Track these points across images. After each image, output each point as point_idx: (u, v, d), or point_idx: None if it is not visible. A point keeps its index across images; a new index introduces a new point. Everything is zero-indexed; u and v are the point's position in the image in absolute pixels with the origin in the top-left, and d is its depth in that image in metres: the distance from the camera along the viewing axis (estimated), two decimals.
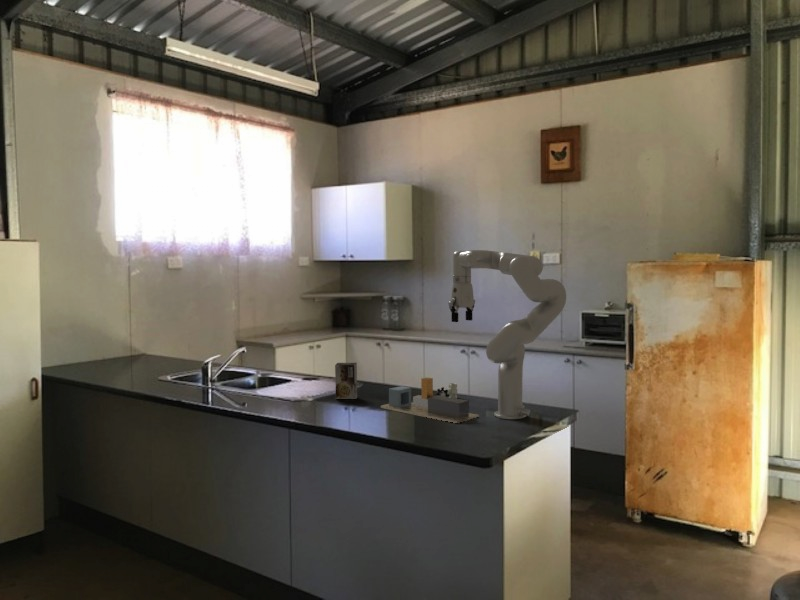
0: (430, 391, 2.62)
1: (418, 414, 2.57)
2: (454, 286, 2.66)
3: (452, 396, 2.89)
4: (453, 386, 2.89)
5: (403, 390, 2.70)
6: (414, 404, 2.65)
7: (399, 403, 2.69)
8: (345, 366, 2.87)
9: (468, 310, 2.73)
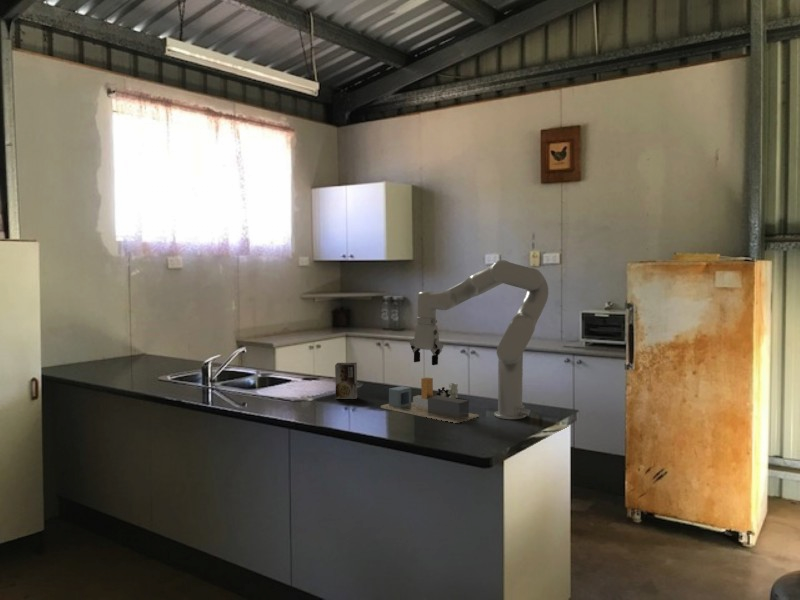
0: (430, 391, 2.62)
1: (418, 414, 2.57)
2: (434, 328, 2.58)
3: (452, 396, 2.89)
4: (453, 386, 2.89)
5: (403, 390, 2.70)
6: (414, 404, 2.65)
7: (399, 403, 2.69)
8: (345, 366, 2.87)
9: (417, 351, 2.65)
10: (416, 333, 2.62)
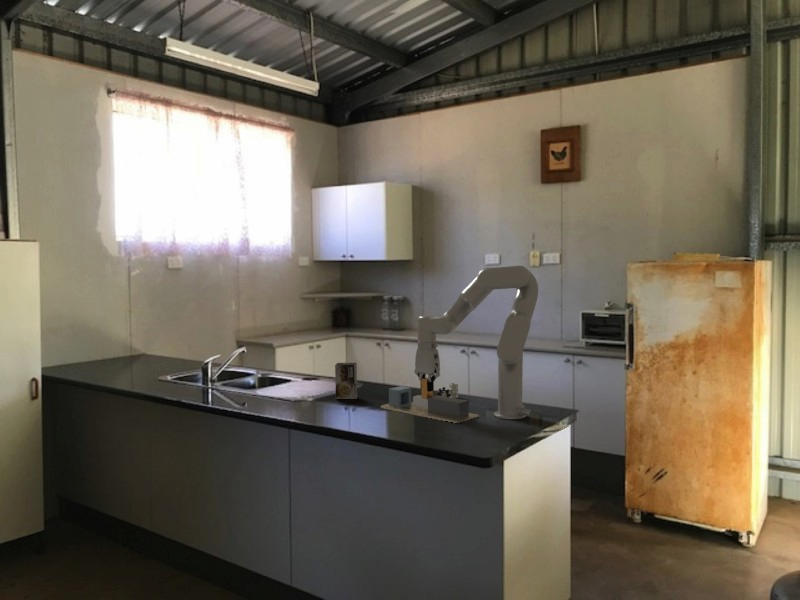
0: (430, 391, 2.62)
1: (418, 414, 2.57)
2: (434, 352, 2.58)
3: (453, 396, 2.89)
4: (454, 386, 2.89)
5: (403, 390, 2.70)
6: (414, 404, 2.65)
7: (399, 403, 2.69)
8: (345, 366, 2.87)
9: None
10: (417, 357, 2.62)
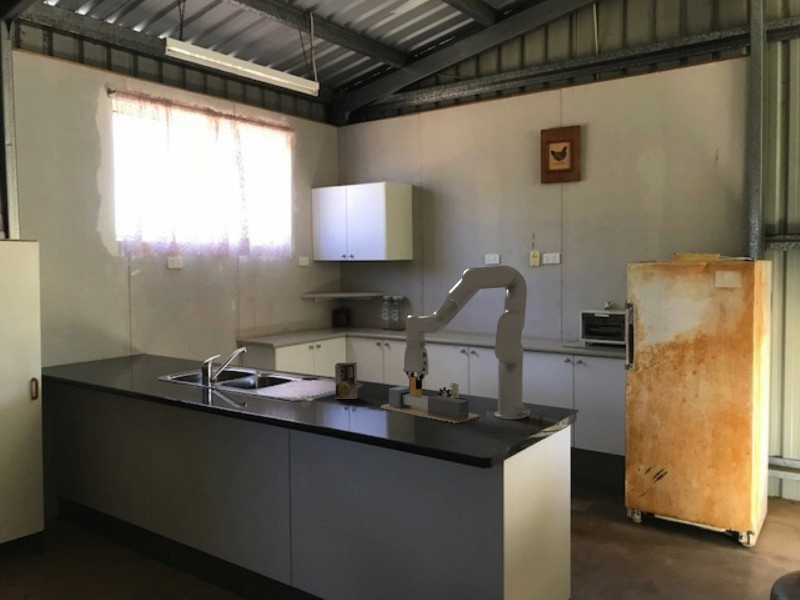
0: (419, 389, 2.66)
1: (418, 414, 2.57)
2: (423, 351, 2.62)
3: (453, 396, 2.89)
4: (454, 386, 2.89)
5: (403, 390, 2.70)
6: (403, 402, 2.69)
7: (399, 403, 2.69)
8: (345, 366, 2.87)
9: None
10: (406, 356, 2.67)
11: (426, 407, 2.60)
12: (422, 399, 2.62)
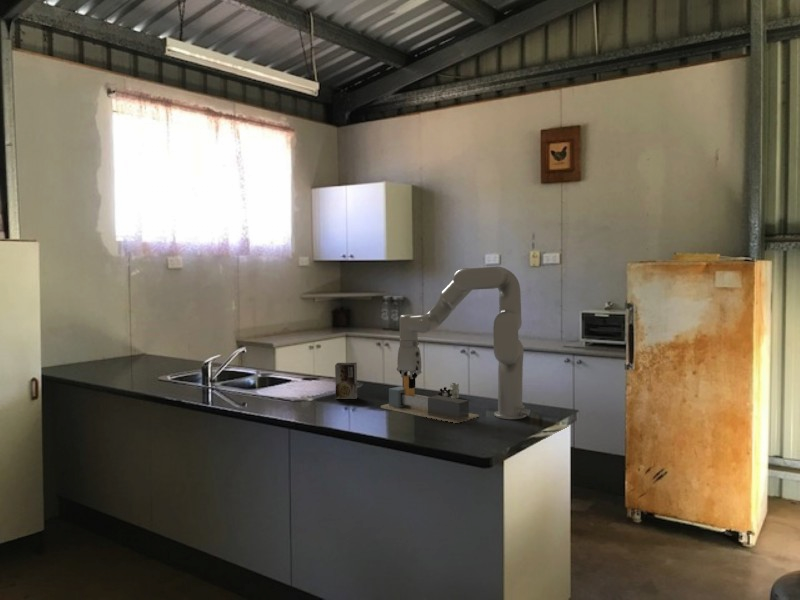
0: (412, 388, 2.69)
1: (418, 414, 2.57)
2: (415, 350, 2.65)
3: (454, 396, 2.89)
4: (455, 386, 2.89)
5: (403, 390, 2.70)
6: None
7: (399, 403, 2.69)
8: (345, 366, 2.87)
9: None
10: (399, 355, 2.69)
11: (419, 406, 2.63)
12: (415, 398, 2.64)
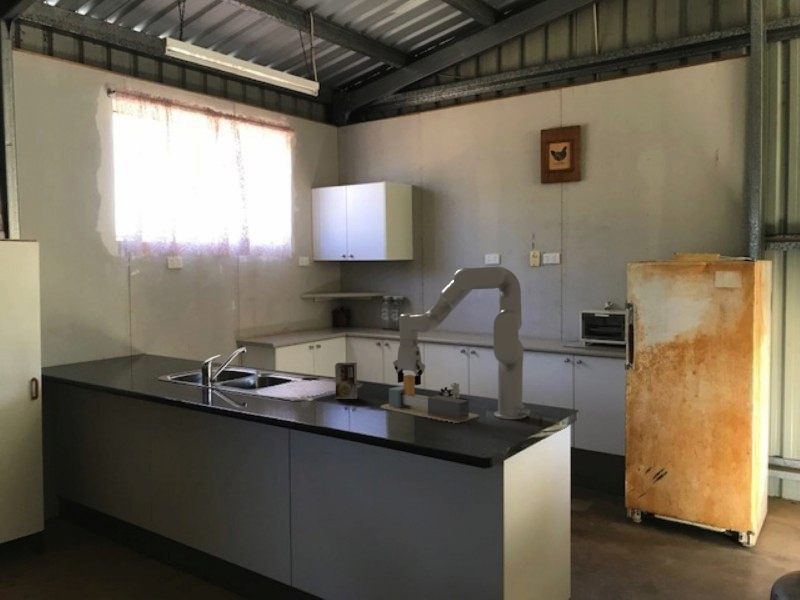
0: (412, 388, 2.69)
1: (418, 414, 2.57)
2: (415, 349, 2.65)
3: (454, 396, 2.90)
4: (455, 386, 2.89)
5: (403, 390, 2.70)
6: None
7: (399, 403, 2.69)
8: (345, 366, 2.87)
9: (400, 372, 2.72)
10: (399, 354, 2.69)
11: (419, 406, 2.63)
12: (415, 398, 2.64)
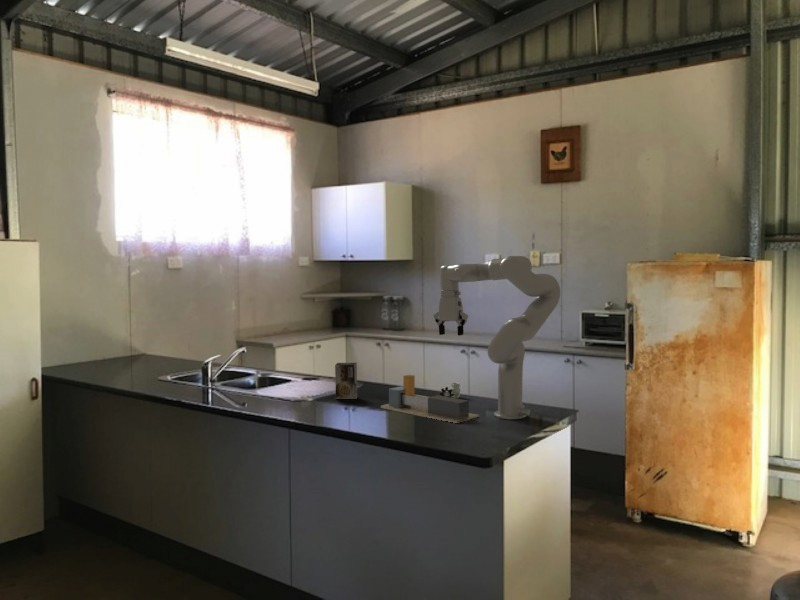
0: (412, 388, 2.69)
1: (418, 414, 2.57)
2: (458, 300, 2.67)
3: (455, 396, 2.90)
4: (456, 386, 2.90)
5: (403, 390, 2.70)
6: None
7: (399, 403, 2.69)
8: (345, 366, 2.87)
9: (442, 324, 2.74)
10: (440, 306, 2.71)
11: (419, 406, 2.63)
12: (415, 398, 2.64)
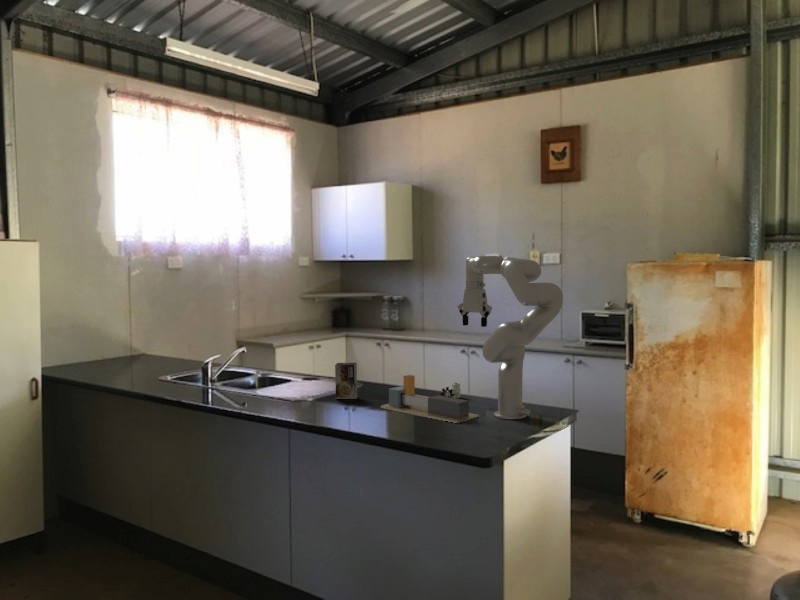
0: (412, 388, 2.69)
1: (418, 414, 2.57)
2: (482, 291, 2.69)
3: (456, 395, 2.90)
4: (457, 385, 2.90)
5: (403, 390, 2.70)
6: None
7: (399, 403, 2.69)
8: (345, 366, 2.87)
9: (465, 315, 2.76)
10: (465, 297, 2.73)
11: (419, 406, 2.63)
12: (415, 398, 2.64)
